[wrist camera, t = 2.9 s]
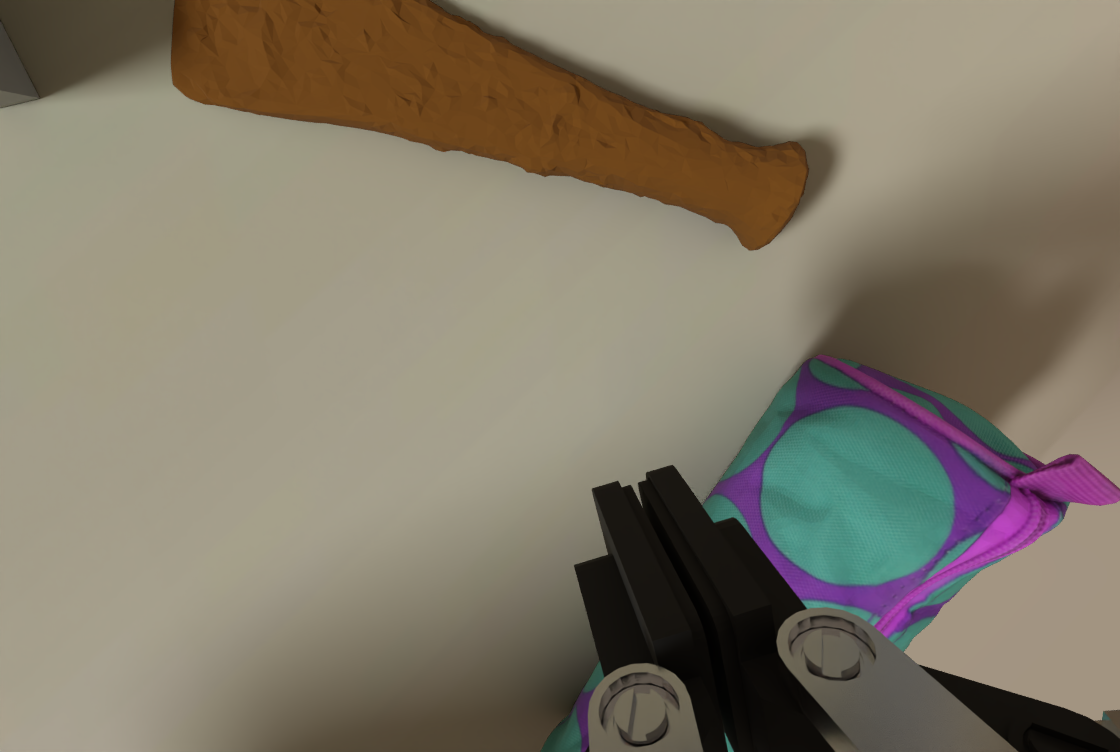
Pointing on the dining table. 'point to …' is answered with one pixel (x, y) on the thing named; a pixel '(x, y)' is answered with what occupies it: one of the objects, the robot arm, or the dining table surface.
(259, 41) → the primitive tool
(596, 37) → the dining table surface
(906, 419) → the pencil case
